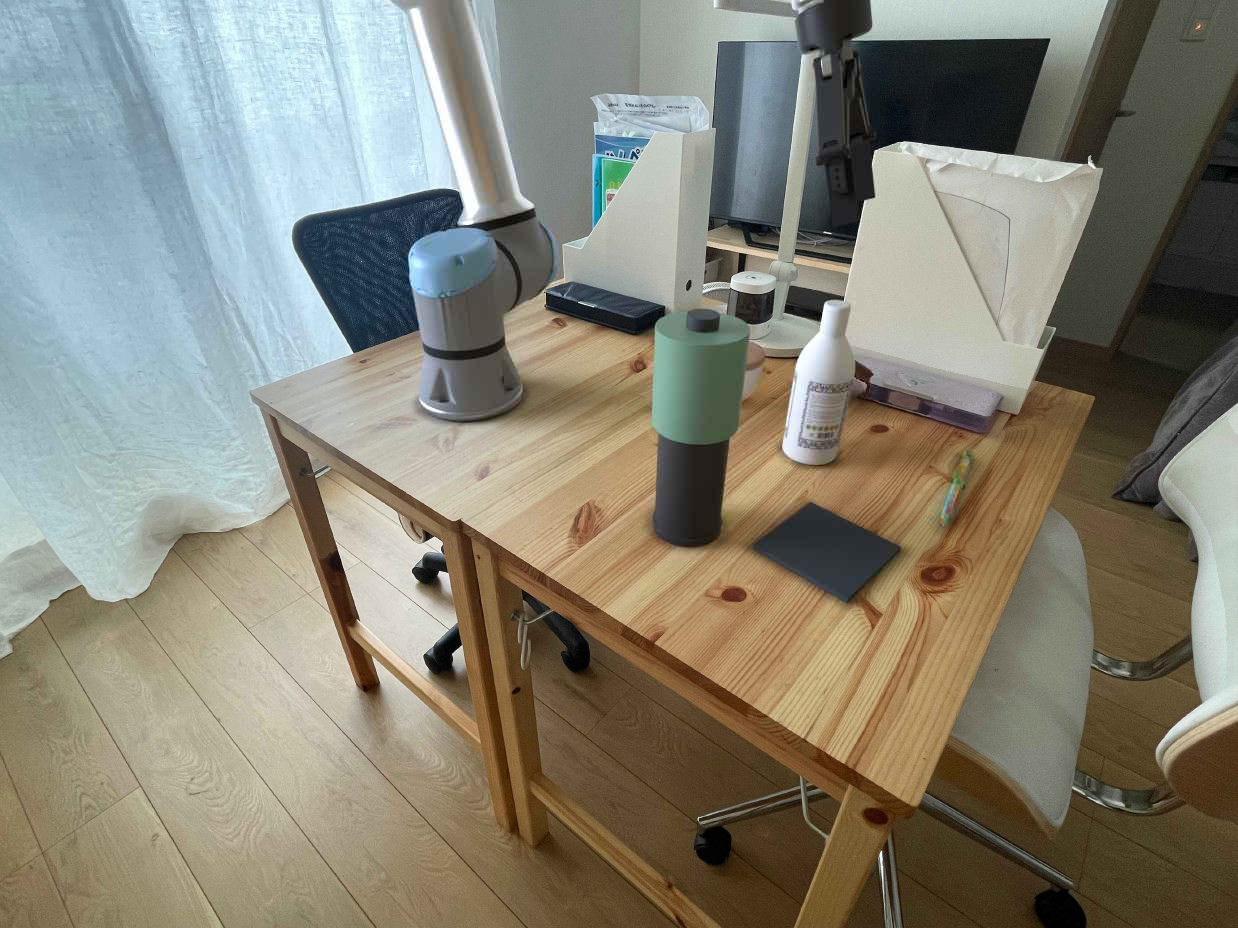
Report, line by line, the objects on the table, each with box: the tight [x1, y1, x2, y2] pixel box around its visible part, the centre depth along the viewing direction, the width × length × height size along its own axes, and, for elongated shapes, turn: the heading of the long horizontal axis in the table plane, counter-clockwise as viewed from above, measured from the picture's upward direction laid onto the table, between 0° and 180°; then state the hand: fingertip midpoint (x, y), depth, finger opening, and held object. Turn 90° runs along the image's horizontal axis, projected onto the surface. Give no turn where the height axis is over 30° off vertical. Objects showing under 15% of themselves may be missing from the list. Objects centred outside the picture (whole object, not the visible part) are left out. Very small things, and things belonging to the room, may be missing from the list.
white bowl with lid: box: [742, 340, 766, 403], centre depth 93 cm, size 11×11×9 cm
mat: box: [752, 501, 902, 604], centre depth 66 cm, size 11×11×1 cm
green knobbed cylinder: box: [651, 308, 751, 445], centre depth 60 cm, size 9×9×11 cm
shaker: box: [652, 432, 731, 548], centre depth 66 cm, size 8×8×13 cm
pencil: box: [940, 449, 975, 528], centre depth 75 cm, size 1×1×18 cm
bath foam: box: [781, 299, 856, 466], centre depth 77 cm, size 7×7×20 cm
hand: (855, 211), depth 75 cm, fingers open, 13 cm apart
